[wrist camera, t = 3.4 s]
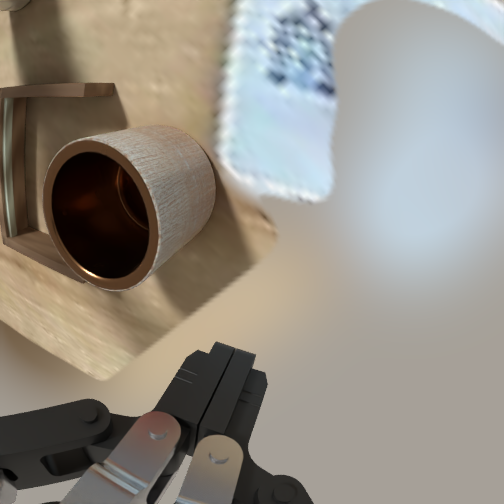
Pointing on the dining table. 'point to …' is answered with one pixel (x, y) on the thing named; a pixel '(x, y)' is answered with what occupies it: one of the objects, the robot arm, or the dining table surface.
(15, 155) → the bay
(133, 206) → the planter
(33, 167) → the dining table surface
